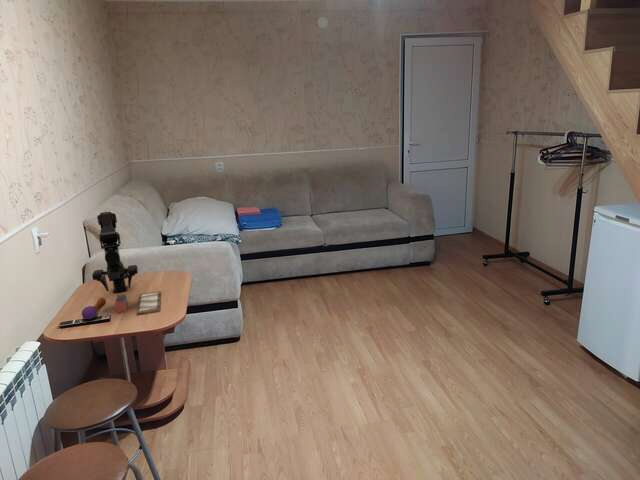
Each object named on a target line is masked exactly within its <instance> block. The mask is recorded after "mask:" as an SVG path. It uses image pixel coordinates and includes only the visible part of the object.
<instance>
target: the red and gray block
mask: <svg viewBox="0 0 640 480" xmlns="http://www.w3.org/2000/svg"><path fill="white" fill-rule="evenodd" d="M128 304H129V302H128V296H127V294H126V293H125V294H119V295H116V299H115V301H114V307H115V313H116V314H122V313H126V312H127V308H128Z"/></svg>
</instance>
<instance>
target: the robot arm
mask: <svg viewBox="0 0 640 480" xmlns="http://www.w3.org/2000/svg"><path fill="white" fill-rule="evenodd" d="M116 215H117V214H116V213H113V212H112V211H104V212H103V211H102V212H100V213H99V214H98V215H97V216H96V218H97V223H98V226H99V227H100V234H98V237H99V242H100V249H101V250H104V251H103V252H104V259H105V262H106V270H105V271H104V269H95V270H94V271H93V272H92V277H91V278H92V280H93V281H96V282H100V283H101V284H102V286H103V287H104V289H105V290H106V292H109V291H110V290H109V289H110V288H109V285H108V281H107V279H108V280H109V282H112V285H113V290H112V293H113V294H115V293H123V292H127V291H128V289H130V288H131V285H132V283H131V282H132V279H133V277H134V276H136V275H137V274H138V271H139V267H138V265H137V264H131V265H128V266H127V268H126V266H124V263H123V262H122V261H121V257H120V251H119V247H121V246H120V244H122V242H121V236H120V234H119V232H118V231H116V228H117V223H118V219H117V216H116ZM106 276H107V277H106ZM125 280H127V281H128V282H127V284H128V285H126V281H125Z"/></svg>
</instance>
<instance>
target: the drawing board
mask: <svg viewBox="0 0 640 480" xmlns="http://www.w3.org/2000/svg"><path fill="white" fill-rule="evenodd" d="M161 292H162V291H161V290H159V291H157V290H156V291H150V292H145V293H144V292H143V293H140V294H138V301H137V306H136V307H137V308H136V316H141V315H147V314H155V313H160V312H161V295H162V293H161Z"/></svg>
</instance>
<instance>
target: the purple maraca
mask: <svg viewBox="0 0 640 480" xmlns="http://www.w3.org/2000/svg"><path fill="white" fill-rule="evenodd" d="M104 304H106V298H104V297H99V298H98V300H97V301H96V303H95V305H94V306H92V305H89V306H85V307H84V308H83V309H82V311H81V316H82V318H83V319H84V320H86V319H92V318H94V319H95V317H97V314H98V311H97V308H100V307H101V306H102V305H104ZM92 320H93V319H92Z"/></svg>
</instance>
